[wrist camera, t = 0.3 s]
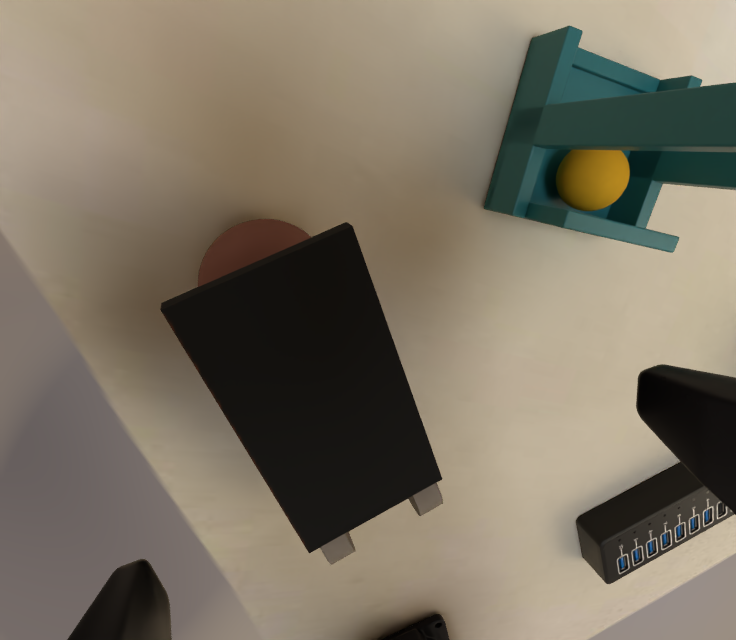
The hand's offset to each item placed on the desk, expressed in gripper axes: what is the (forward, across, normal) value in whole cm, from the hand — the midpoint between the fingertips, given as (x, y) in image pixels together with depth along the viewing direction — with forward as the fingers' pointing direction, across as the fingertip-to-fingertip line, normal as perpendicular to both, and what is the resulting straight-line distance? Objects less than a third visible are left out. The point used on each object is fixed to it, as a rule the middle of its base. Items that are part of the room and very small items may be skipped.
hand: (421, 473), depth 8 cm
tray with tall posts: (+14, -14, -2) cm, 20 cm away
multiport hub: (+14, -21, +24) cm, 35 cm away
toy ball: (+12, -14, -1) cm, 18 cm away
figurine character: (+14, +1, +5) cm, 15 cm away
